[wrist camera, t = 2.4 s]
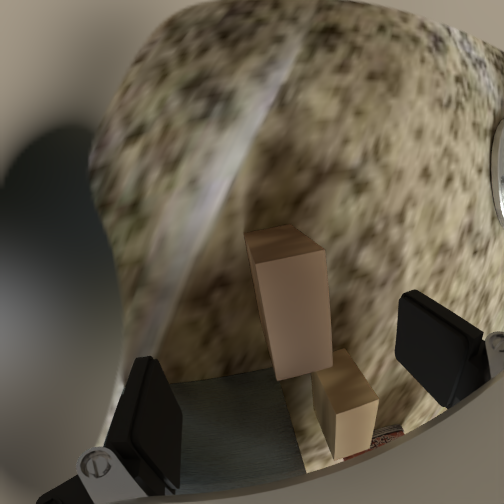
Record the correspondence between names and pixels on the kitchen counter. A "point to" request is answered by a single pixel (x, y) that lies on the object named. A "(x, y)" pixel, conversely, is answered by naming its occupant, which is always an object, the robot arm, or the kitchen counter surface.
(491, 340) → the robot arm
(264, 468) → the grey slotted box
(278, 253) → the walnut tile
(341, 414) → the honey tile
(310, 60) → the kitchen counter surface
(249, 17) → the kitchen counter surface
